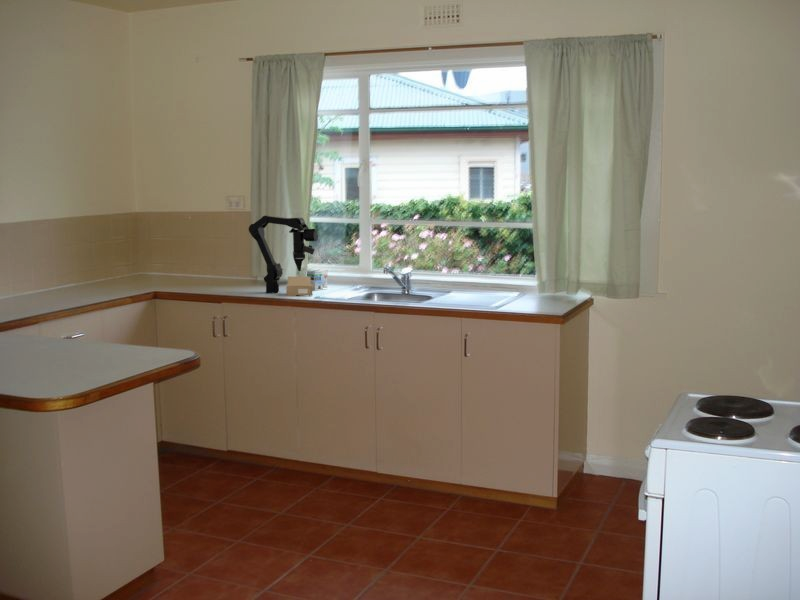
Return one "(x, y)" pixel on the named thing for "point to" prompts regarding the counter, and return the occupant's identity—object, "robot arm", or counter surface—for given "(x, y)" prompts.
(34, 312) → the counter surface
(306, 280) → the flap near
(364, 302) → the counter surface
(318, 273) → the light bulb box
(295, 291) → the carton
